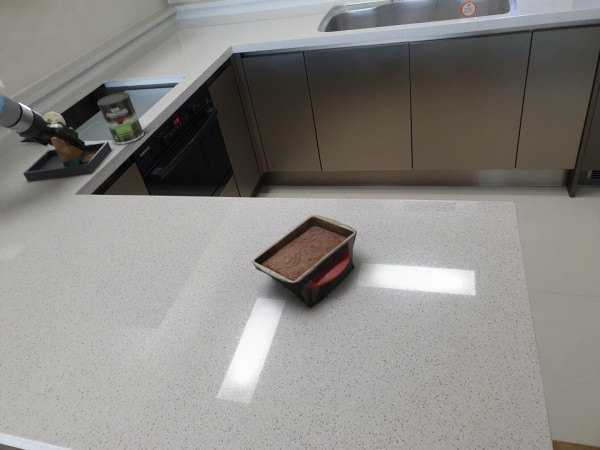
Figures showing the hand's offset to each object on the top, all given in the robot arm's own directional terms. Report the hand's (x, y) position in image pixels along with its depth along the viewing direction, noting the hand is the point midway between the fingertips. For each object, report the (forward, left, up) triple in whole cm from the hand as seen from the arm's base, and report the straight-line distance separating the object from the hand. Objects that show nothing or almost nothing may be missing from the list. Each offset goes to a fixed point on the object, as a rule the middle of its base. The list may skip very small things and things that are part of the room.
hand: (76, 147), depth 147 cm
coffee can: (+12, +12, -4) cm, 18 cm away
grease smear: (+5, -4, -3) cm, 7 cm away
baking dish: (+78, -66, -4) cm, 102 cm away
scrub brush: (0, -4, -3) cm, 5 cm away
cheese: (-24, +20, -4) cm, 32 cm away
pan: (-2, -4, -4) cm, 6 cm away
